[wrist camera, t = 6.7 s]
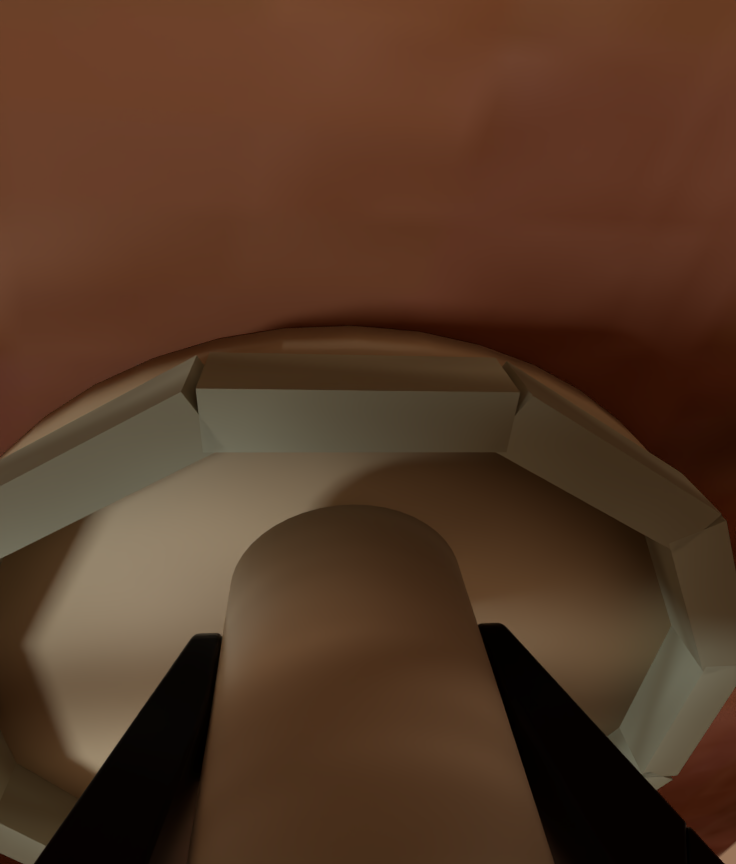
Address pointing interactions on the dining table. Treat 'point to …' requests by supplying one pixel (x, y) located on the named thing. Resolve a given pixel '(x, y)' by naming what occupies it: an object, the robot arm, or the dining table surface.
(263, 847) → the maple bead
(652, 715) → the ring dish
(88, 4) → the dining table surface
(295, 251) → the dining table surface
